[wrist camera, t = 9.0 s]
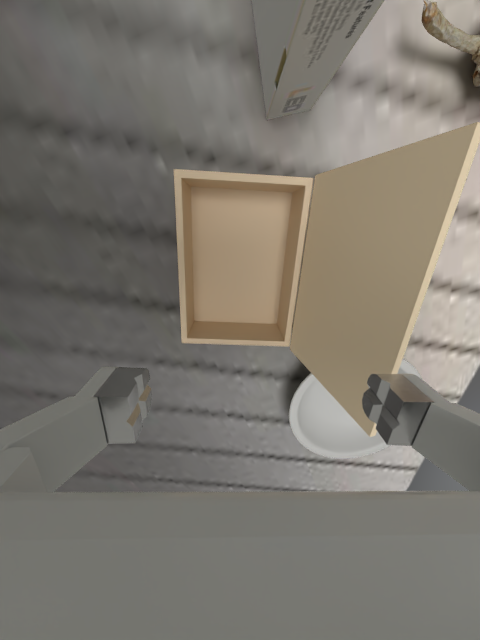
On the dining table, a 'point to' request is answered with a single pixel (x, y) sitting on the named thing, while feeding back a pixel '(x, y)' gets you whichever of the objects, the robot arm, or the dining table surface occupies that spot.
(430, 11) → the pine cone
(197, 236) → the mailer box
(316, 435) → the white bowl
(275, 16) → the packaging
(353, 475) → the dining table surface
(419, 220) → the lid
